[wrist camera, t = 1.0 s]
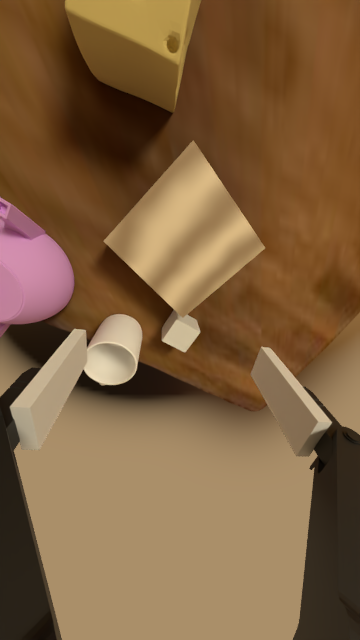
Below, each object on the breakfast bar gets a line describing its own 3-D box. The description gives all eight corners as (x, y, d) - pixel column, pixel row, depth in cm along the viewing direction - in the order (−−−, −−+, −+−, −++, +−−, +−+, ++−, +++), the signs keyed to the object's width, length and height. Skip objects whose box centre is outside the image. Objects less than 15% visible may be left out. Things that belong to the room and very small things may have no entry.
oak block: (113, 237, 33) (103, 241, 27) (187, 154, 29) (193, 140, 23) (180, 304, 39) (182, 317, 33) (249, 243, 35) (265, 248, 29)
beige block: (161, 327, 41) (161, 340, 36) (175, 307, 39) (176, 319, 35) (182, 338, 42) (185, 352, 38) (196, 319, 41) (200, 332, 36)
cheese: (202, 0, 23) (226, -139, 14) (174, 121, 27) (180, 75, 18) (106, -55, 21) (64, -259, 12) (93, 86, 25) (55, 14, 16)
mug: (128, 366, 45) (119, 405, 35) (90, 355, 43) (70, 393, 33) (149, 321, 40) (144, 352, 31) (107, 306, 38) (89, 334, 29)
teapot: (58, 338, 40) (20, 382, 30) (-33, 302, 36) (-117, 339, 25) (99, 233, 33) (68, 241, 22) (-11, 172, 28) (-118, 143, 17)
